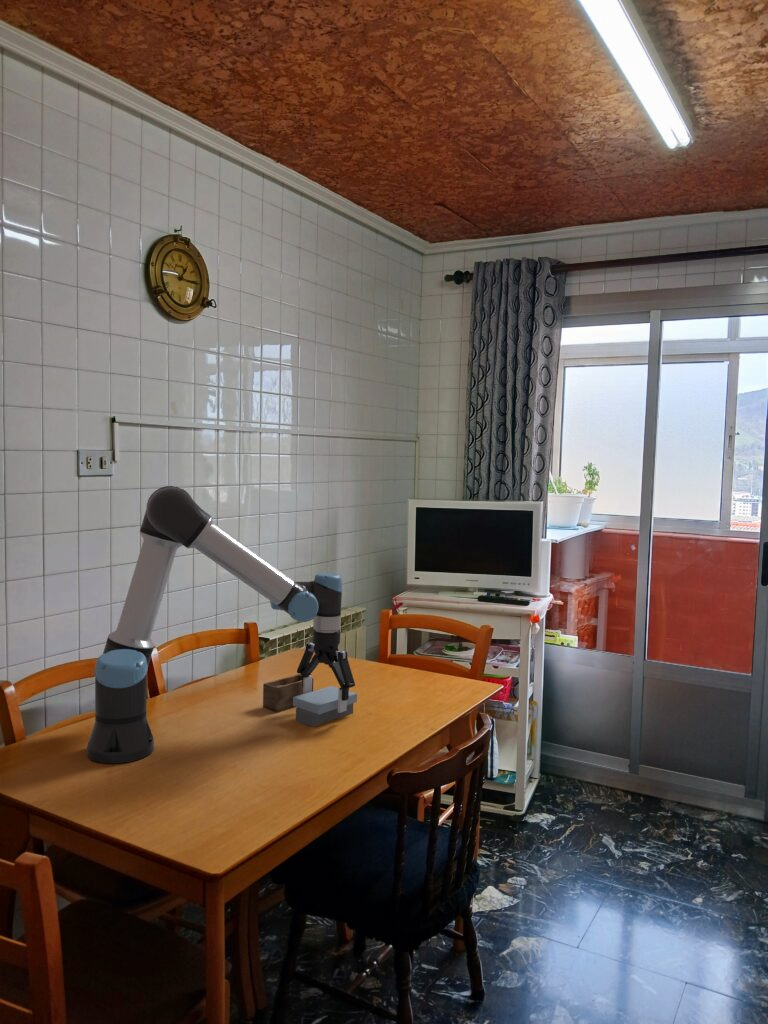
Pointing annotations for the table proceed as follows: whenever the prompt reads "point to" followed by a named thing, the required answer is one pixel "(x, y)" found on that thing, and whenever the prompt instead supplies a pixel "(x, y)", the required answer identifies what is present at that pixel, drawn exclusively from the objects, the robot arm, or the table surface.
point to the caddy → (282, 693)
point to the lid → (321, 700)
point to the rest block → (320, 716)
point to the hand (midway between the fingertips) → (324, 705)
